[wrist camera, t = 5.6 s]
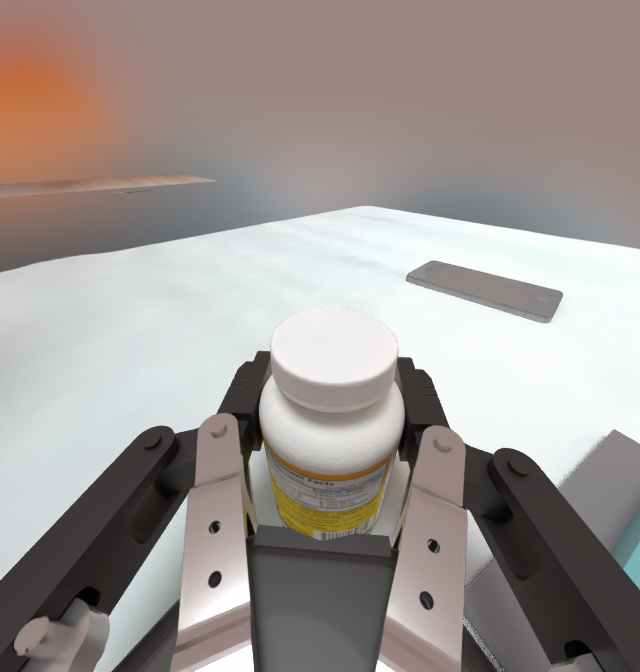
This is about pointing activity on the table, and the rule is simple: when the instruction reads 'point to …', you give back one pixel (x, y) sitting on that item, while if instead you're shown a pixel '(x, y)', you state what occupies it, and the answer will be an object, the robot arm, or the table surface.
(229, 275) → the table surface
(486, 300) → the phone
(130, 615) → the table surface
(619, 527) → the bottle dock
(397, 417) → the supplement bottle
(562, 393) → the table surface
